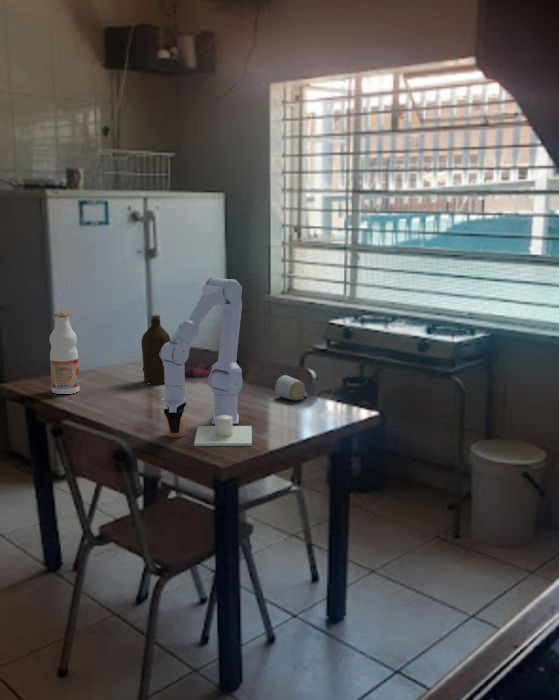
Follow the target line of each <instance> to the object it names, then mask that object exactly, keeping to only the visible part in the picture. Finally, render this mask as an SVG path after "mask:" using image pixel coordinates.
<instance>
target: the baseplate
mask: <svg viewBox="0 0 559 700" xmlns="http://www.w3.org/2000/svg"><path fill="white" fill-rule="evenodd" d="M252 427H253V426H252V425H233V435H232V436H229V437H218V436H216V435H215V425H197V429H196V432H195V437H194V442H193V446H194V447H252V446H253V435H252V434H253V433H252V432H253V431H252V430H253V428H252Z"/></svg>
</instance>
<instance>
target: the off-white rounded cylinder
mask: <svg viewBox="0 0 559 700" xmlns="http://www.w3.org/2000/svg"><path fill="white" fill-rule="evenodd" d="M214 426H215V435H216V436H218V437H229V436H232V435H233V426H234V424H233V417H232V416H229V415H220V416H216V417H215V424H214Z"/></svg>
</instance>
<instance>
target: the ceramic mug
mask: <svg viewBox="0 0 559 700" xmlns="http://www.w3.org/2000/svg"><path fill="white" fill-rule="evenodd" d="M274 389H275V390H274V391H275V394H276V395H277V397H280V398H283V399H287V400H290V401H295V402H296V401H299V400H301V399H302V398H303V397H305V398H307V396H308V394H309V393H308V392H307V391H305V390H306V389H305V383H304V382H303V381H301V380H299V379H296V378H294V377H291V376H289V375H286V374H285V375H281V376H280V377H279V378H277V381H276V382H275V386H274Z"/></svg>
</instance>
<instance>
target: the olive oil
mask: <svg viewBox="0 0 559 700" xmlns="http://www.w3.org/2000/svg"><path fill="white" fill-rule="evenodd" d="M150 324H151V325H150V326H149V328H148V329H147V330H146V331H144V333H143V335H142V338H141V353H142V364H143V365H142V371H143V381H144V383H145V382H146V383H150V384H149V385H151V384H161V385H165V384H164V383H165V376H164V366H163V361H162V359H161V358H160V355H159V353H160V352H161V348H162V347H163V345H164V344H165V343H167V342H170V339H171V337H170V335H169V333H168V332H167V331H166V330H165V328H163V326H161V315H159V314H152V315H151V316H150ZM146 383H145V384H146Z"/></svg>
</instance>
